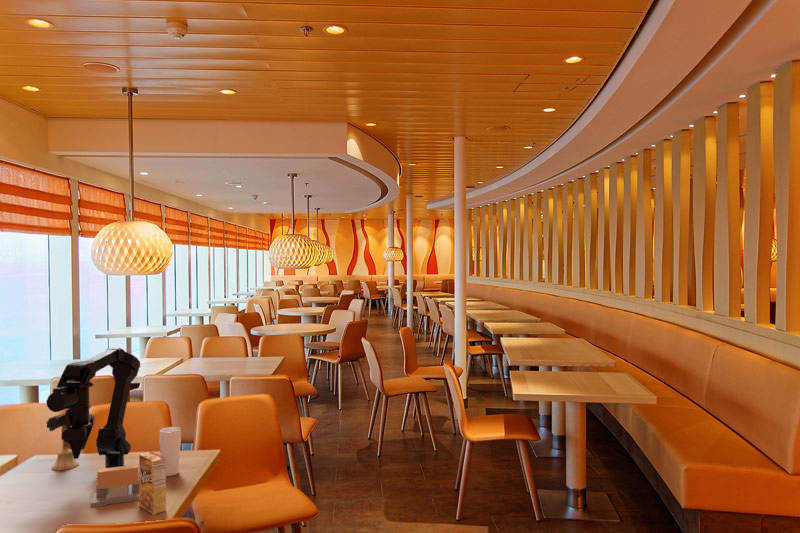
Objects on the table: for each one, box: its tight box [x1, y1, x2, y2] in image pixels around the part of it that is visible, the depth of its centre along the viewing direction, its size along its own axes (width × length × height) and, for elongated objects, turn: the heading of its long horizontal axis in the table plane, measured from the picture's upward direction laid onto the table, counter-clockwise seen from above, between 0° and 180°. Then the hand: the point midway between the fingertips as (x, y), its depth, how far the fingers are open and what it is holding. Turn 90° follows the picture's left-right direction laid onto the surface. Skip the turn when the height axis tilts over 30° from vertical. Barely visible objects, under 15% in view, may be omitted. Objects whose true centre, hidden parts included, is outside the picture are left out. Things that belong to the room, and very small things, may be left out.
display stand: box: [90, 482, 139, 508], centre depth 175 cm, size 12×14×4 cm
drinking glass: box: [158, 426, 182, 477], centre depth 193 cm, size 7×7×15 cm
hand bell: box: [51, 425, 80, 471], centre depth 200 cm, size 8×8×16 cm
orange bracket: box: [96, 464, 139, 489], centre depth 175 cm, size 8×11×5 cm
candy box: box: [138, 451, 167, 516], centre depth 165 cm, size 9×4×15 cm, turn 50°
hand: (79, 454), depth 177 cm, fingers open, 9 cm apart
